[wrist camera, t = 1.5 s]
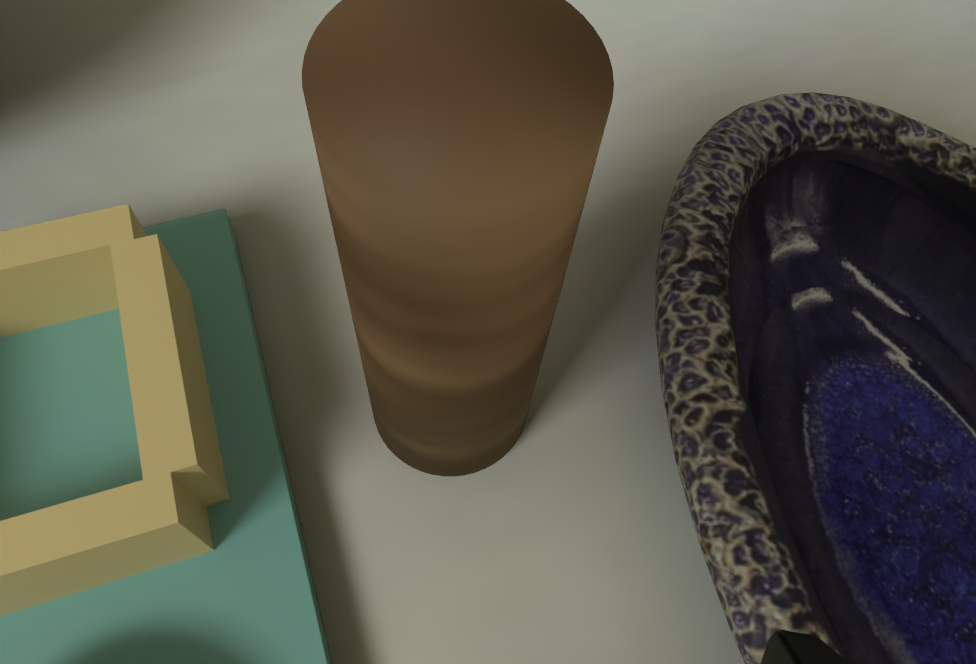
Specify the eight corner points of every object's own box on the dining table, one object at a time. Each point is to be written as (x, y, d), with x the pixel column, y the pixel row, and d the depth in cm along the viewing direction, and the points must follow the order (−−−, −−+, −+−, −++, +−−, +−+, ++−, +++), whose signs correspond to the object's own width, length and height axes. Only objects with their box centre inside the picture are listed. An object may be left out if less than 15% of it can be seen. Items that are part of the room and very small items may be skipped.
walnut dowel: (549, 449, 22) (663, 153, 11) (396, 496, 22) (344, 229, 10) (498, 316, 24) (549, -56, 13) (355, 354, 23) (273, -7, 12)
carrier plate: (395, 947, 17) (383, 1005, 13) (-215, 1208, 15) (-425, 1360, 11) (232, 227, 25) (198, 145, 22) (-173, 321, 23) (-285, 246, 19)
